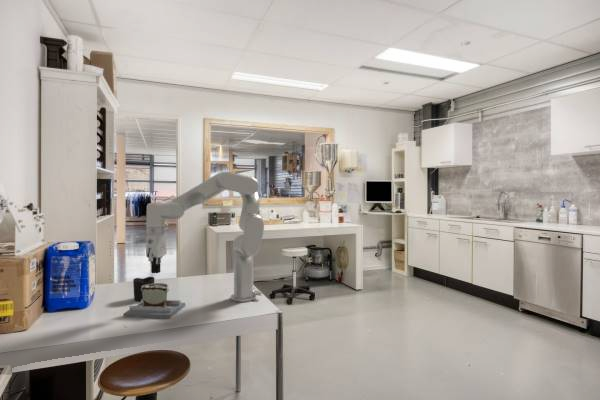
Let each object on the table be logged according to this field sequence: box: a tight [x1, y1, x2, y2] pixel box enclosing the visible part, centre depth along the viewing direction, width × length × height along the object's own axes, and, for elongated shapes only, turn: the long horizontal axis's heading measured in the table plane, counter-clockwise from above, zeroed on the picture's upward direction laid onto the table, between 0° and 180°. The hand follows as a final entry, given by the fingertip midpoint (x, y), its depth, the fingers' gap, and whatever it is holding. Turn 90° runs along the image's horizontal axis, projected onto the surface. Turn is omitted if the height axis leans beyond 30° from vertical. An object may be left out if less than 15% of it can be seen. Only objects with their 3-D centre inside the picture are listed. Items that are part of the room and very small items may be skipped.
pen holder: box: [132, 276, 155, 303], centre depth 168 cm, size 9×9×10 cm
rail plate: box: [123, 299, 186, 319], centre depth 151 cm, size 20×16×4 cm
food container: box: [141, 282, 170, 307], centre depth 152 cm, size 12×6×10 cm, turn 84°
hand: (155, 272), depth 151 cm, fingers closed
